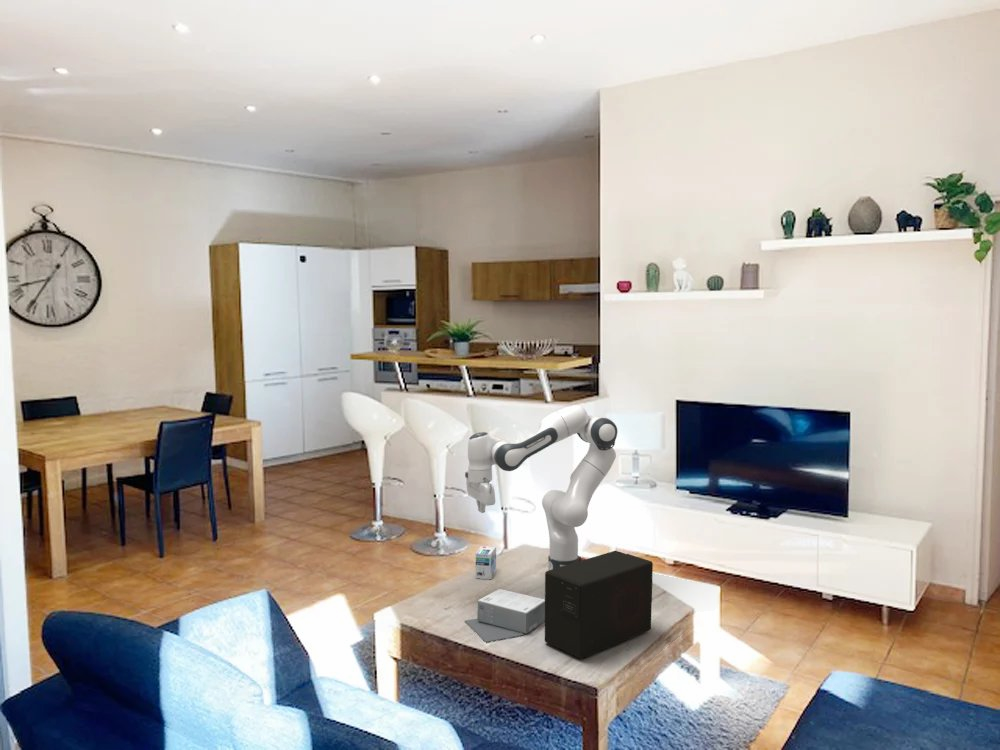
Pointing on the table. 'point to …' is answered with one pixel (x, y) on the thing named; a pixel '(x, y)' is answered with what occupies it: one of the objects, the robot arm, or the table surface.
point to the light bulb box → (485, 562)
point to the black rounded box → (597, 602)
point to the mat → (491, 631)
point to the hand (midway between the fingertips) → (481, 511)
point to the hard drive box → (511, 610)
